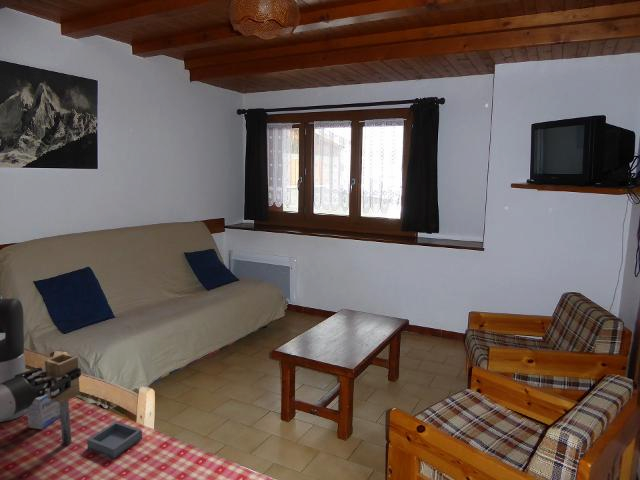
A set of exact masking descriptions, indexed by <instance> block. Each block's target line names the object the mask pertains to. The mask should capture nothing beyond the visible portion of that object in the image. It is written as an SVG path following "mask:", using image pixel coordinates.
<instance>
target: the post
mask: <svg viewBox="0 0 640 480" xmlns="http://www.w3.org/2000/svg"><path fill="white" fill-rule="evenodd" d="M69 400H70V399H69ZM69 400H67V401H65V402H63V403H60V402H59V404H60V417H59V419H60V428H61V443H62V446H69V445H70V444H72V432H71V431H72V430H71V417H70V403H69Z"/></svg>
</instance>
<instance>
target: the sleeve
mask: <svg viewBox="0 0 640 480" xmlns="http://www.w3.org/2000/svg"><path fill="white" fill-rule="evenodd" d="M78 358H79V357H78V356H75V355H73V354H69V353H66V352H62V353H59V354H57V355H54V356H53V357H50V358H48V359H46V360H44V367H45V368H44V369H46V377H49V376H52V375H56V376H60V375H63V374H65V373H68V372H70V371H72V370H74V369H76V368H79V360H78ZM61 380H62V379H59V380H58V382H59V381H61ZM52 385H53V380H51V387H52ZM80 391H81V390H80V377H78V378H76V379H74V380H72V381H71V387H70V388H69V389H67V390H66V391H65V392H63V393H62V394H60V395H59V396H57V397H56V398H53V399H51V398H50V395H47V396H48V399H51V400H54V401H57V402H60V403H63V402H65V401H67V400H70V399H73V398H75V397H76V396H77V397H78V396H79V395H80V394H81V392H80Z"/></svg>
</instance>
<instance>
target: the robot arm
mask: <svg viewBox="0 0 640 480" xmlns="http://www.w3.org/2000/svg"><path fill="white" fill-rule="evenodd" d="M24 331H25V330H24V307H23V303H22V302H21V301H20V299H18V298H11V297H10V298H0V334H4V335H5V337H4V338H3V339H2V338H1V339H0V422H7V421H12V420H15V419H18V418H19V417H22V416H24V415H25V414H27V408H28V407H30V406H31V405H32V403H33V401H34V400H35V399H36V398H38V397H41V396H44V395H46V394H47V395H50V398H51V399H53V398H56V397H57V396H59V395H60V394H62V393H63V392H65V391H66V390H67V389H69V388H70V387H71V381H72V380H74V379H76V378H78V377H79V378H80V377H81V375H82V369H81V368H80V367H78V368H76V369H74V370H72V371H70V372H68V373H65V374H63V375H60V376H56V375H52V376H49V377H46V369H45V368H44V369H43V368H42V367H37V368H33V369H30V370H27V371H26V359H25V358H26V357H25V332H24ZM59 379H62V380H61V381H59V382H58V380H59ZM51 380H53V385H52V387H51Z"/></svg>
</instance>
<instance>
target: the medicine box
mask: <svg viewBox="0 0 640 480" xmlns="http://www.w3.org/2000/svg"><path fill="white" fill-rule="evenodd" d="M26 414H27V422H28V428H30V429H35V430H36V429H37V430H44V429H45V428H47V427H48V426H50V425H51V424H52V423H54V422H55V421H56V420H58V419H60V404H59V402H57V401H54V400H51V399H48V396H47V394H46V395H44V396H41V397H38V398H36V399H35V400H34V401H33V403H32V405H31V406H30V407H28V408H27V412H26Z"/></svg>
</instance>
